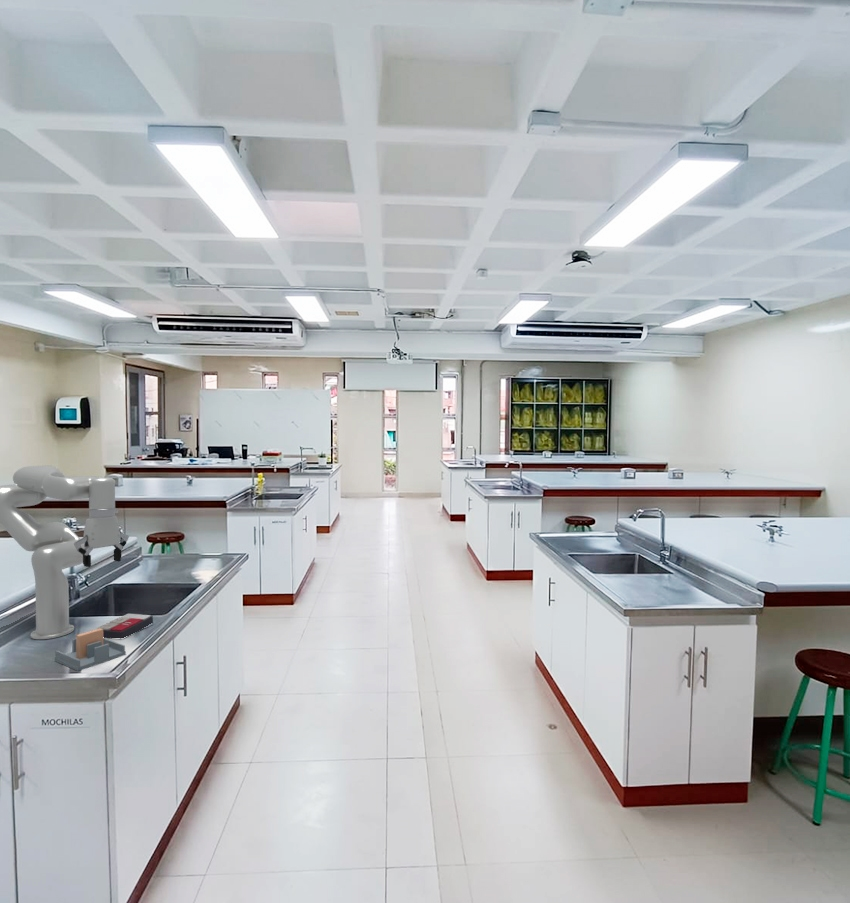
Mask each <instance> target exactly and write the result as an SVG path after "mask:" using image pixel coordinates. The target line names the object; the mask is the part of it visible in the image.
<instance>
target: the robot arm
mask: <svg viewBox="0 0 850 903" xmlns="http://www.w3.org/2000/svg"><path fill="white" fill-rule="evenodd" d="M12 481H13V483H14V484H3V485H0V526H1V527H2V529H5V531H6V532H8V533H7V534H8V535H9V536H11V537H12V538H13V540H14V541H16V542H17V544H18V545H19V546H21V548H22V549H23V550H25V551H26V552H33V553H32V555H31V558H30V559H31V560H30V562H31V565H32V566H31V567H32V570H33V573H34V583H35V585H34V586H35V589H34V590H35V592H34V593H35V630H33V631H32V632H31V633H30V638H31V639H33V640H48V639H49V640H51V639H55V638H59V637H64V636H66V635H69V634H71V633H72V632H73V631H75V626H74V625H73V624H70V605H69V604H70V602H69V601H70V594H69V593H70V592H69V589H70V588H69V579H68V578H67V576H66V574H65V573H64V572H63V570H64V569H69V568H73V567H77V566H80V565H82V564H83V567H85V568H90V567H92V555H91V554H90V553H91V552H92V551H93V550H94V549H103V548H108V547H114V548H115V549H113V561H115V562H121V559H122V550H123V549H124V547H125V546H126V545H127V542H128V540H129V538H130V536H129V535H128V534H125V533H123V532H120V530H121V529H120V524H119V519H118V516H116V514H118V513H119V512H120V510H119V508H116V481H115V479H114V478H112V477H108V476H106V477H99V476H93V475H90V476H73V477H65V475H64V474H63V472H61V470H60V468H57V467H56V466H54V465H29V466H23V467H21V468H19V469H17V470H16V471H15V472H14V474H13V476H12ZM46 498H51V499H53V500H54V499H55V500H62V501H72V500H73V501H74V500H82V499H88V512H89V513H88V514H89V515H88V518H86V519H85V524H84V529H83V537H82V538H81V537H79V536H78V535H77V534H76V532H74V530H73V529H72V528H70V526H68V525H67V524H66V523H64V522H60V521H52V522H51V521H50V522H44V523H43V522H39V521H37V520H36V519H35V518H34V517H33V516H32V515H31V514H30V513H28V512H26V511H24V510H22V509H19V508H22V507H23V508H24V507H31V506H35V505H36V506H37V505H39V504H40V503H42V502H43V501H44V500H45V499H46ZM121 538H122V539H121Z"/></svg>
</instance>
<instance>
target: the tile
mask: <svg viewBox="0 0 850 903" xmlns="http://www.w3.org/2000/svg"><path fill="white" fill-rule="evenodd" d="M75 639H76V658H78V659H82V658H85V657H87V645H88V644H92V643H95V642H98V641H102V645H103V629H101V628H99V629H98V628H96V629H94V630H93V629H92V630H89V631H87V632H83V633H82V632H81V633H79V634H76V637H75Z"/></svg>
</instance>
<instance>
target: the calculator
mask: <svg viewBox="0 0 850 903" xmlns="http://www.w3.org/2000/svg"><path fill="white" fill-rule="evenodd" d="M151 623H153V624H154V618H153V615H151V614H139V613H127V614H124V615H122V616H120V617H117V618H115V619H113V620H110V621H109V622H106V623H105V624H102V625H101V626H98V627H97V629H99V628H101V629H103V637H104V638H105V639H112V638H124V637H126V636H128V637H130V636H132V635H131V634H133V633H135V632H137V631H138V632H140V631H142V630H143V629H142V628H144V627H146V626H148V625H149V624H151ZM141 629H142V630H141ZM139 630H140V631H139ZM138 632H137V633H138ZM135 634H136V633H135ZM129 635H130V636H129ZM133 635H134V634H133ZM126 638H127V637H126ZM124 639H125V638H124Z"/></svg>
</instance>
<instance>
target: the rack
mask: <svg viewBox="0 0 850 903" xmlns="http://www.w3.org/2000/svg"><path fill="white" fill-rule="evenodd" d="M71 640H72V641H71V644H72V645H71V646H72V649H71V650H72V651H71V652H69V653H65V652H62V651H59V650H55V656H54V662H56V663H58V664H60V665H63V666H65V667H68V668H70V669H72V670H74V671H78V672H79V671H81V670H84V669H88V668H91V667H93V666H94V667H95V665H99V664H103V663H105V662H107V661H111V660H114V659H116V658H119V657H122V656H125V655H127V654H126V646H125V645H124V644H122V643H119V642H116V641H113V640H112V639H111V640H110V639H109V638H103V645H102V641H98V642H95V643H92V644H88V645H87V657H85V658H82V659H78V658H76V638H73V639H71Z"/></svg>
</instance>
